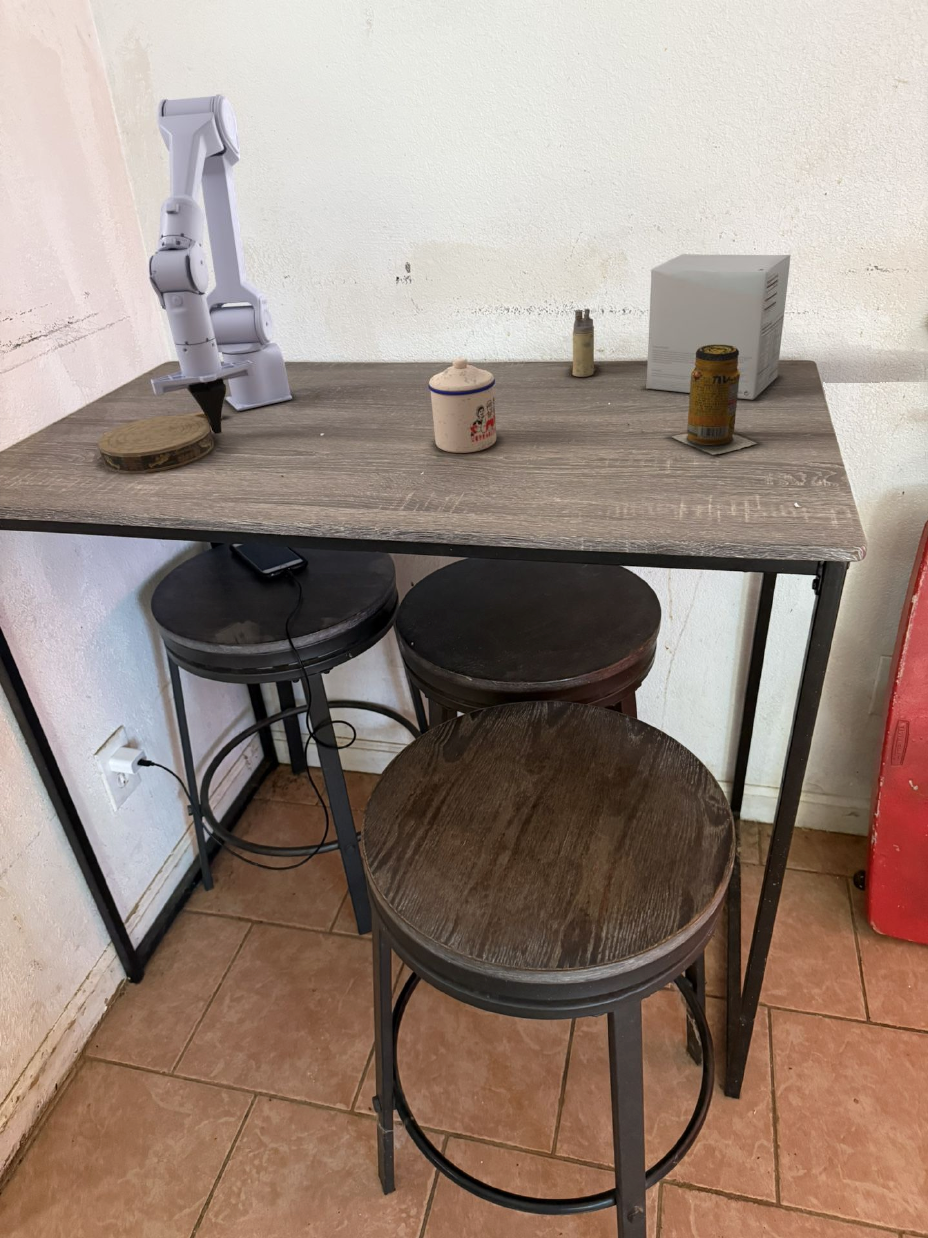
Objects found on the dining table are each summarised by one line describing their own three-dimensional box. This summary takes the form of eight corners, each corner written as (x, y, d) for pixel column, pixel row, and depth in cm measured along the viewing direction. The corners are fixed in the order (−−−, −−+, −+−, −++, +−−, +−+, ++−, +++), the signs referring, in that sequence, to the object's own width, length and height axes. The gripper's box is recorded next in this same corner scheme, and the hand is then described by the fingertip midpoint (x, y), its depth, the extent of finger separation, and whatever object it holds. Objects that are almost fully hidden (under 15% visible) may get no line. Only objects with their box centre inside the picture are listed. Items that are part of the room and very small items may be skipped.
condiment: (713, 426, 117) (721, 338, 110) (757, 444, 110) (767, 351, 104) (671, 438, 114) (676, 348, 108) (712, 457, 108) (720, 362, 101)
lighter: (574, 365, 147) (573, 305, 141) (596, 364, 146) (596, 304, 141) (572, 377, 141) (571, 316, 136) (595, 377, 140) (595, 315, 135)
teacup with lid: (482, 457, 114) (476, 370, 107) (422, 451, 117) (414, 367, 111) (515, 427, 123) (512, 346, 116) (459, 422, 126) (453, 343, 120)
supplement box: (779, 376, 133) (794, 253, 124) (754, 401, 124) (769, 271, 115) (674, 366, 142) (681, 251, 132) (643, 389, 133) (648, 267, 123)
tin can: (126, 482, 116) (120, 462, 114) (88, 454, 126) (82, 435, 125) (232, 449, 124) (227, 430, 122) (188, 426, 134) (183, 407, 133)
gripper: (148, 355, 114) (174, 450, 122) (251, 335, 120) (270, 427, 127) (139, 345, 120) (164, 437, 127) (238, 326, 125) (257, 415, 132)
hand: (216, 431), depth 127 cm, fingers closed
